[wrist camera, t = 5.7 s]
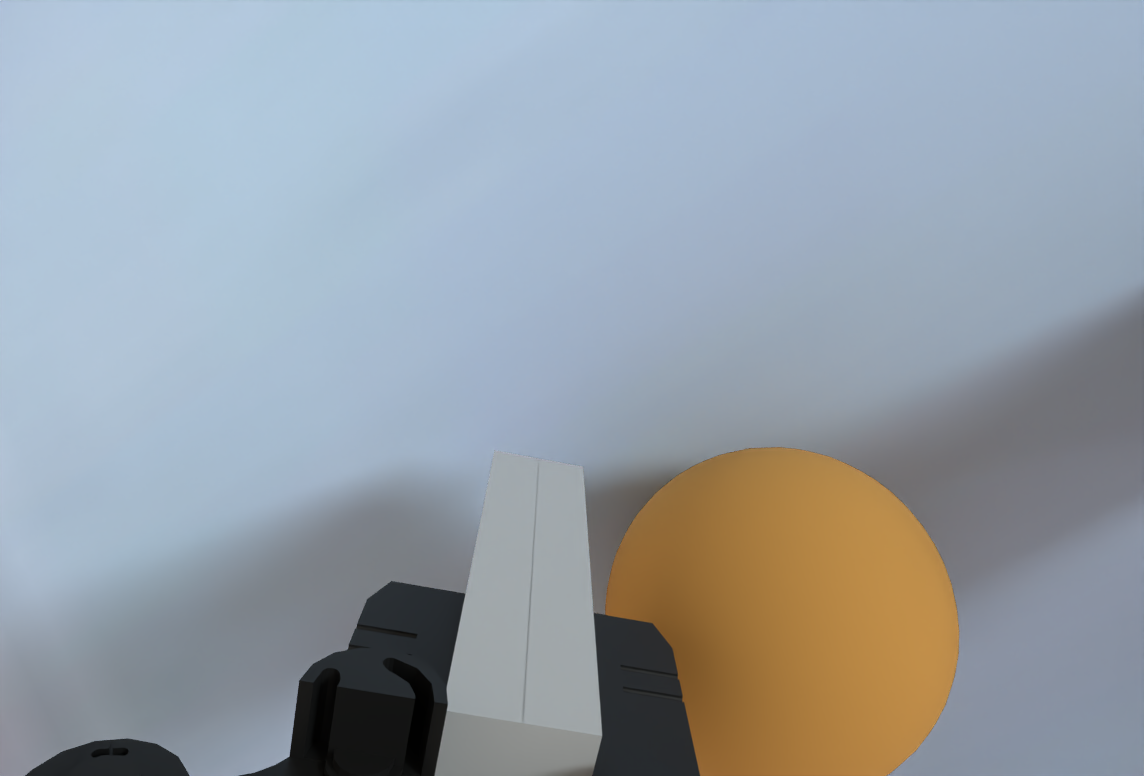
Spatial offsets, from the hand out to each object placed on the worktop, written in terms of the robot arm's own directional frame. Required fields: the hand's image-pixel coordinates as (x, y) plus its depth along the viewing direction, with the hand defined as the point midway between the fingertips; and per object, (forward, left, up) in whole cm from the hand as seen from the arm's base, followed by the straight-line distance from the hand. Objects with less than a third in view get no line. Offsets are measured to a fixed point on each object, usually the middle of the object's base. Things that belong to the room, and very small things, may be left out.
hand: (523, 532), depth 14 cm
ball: (-4, 0, +1) cm, 4 cm away
